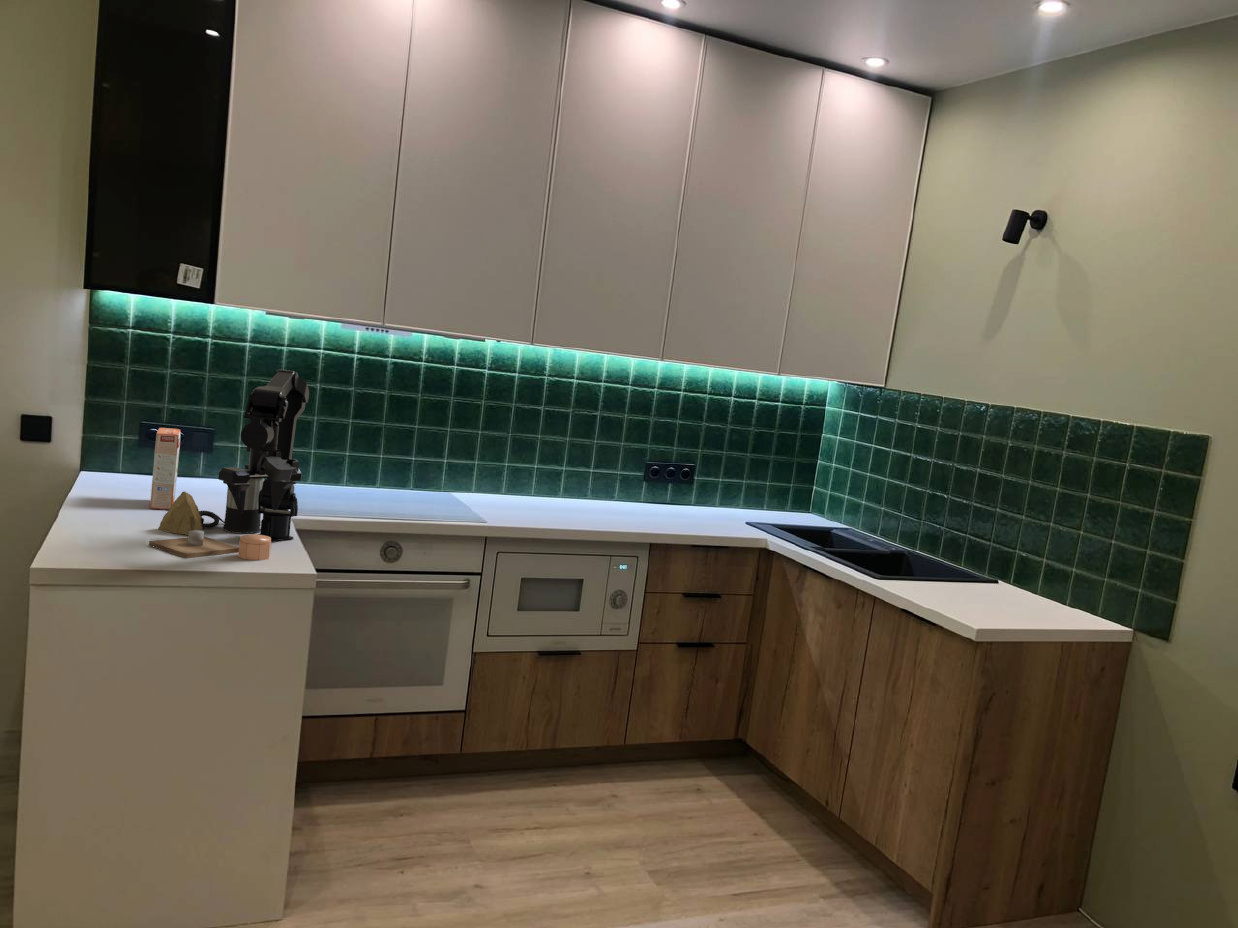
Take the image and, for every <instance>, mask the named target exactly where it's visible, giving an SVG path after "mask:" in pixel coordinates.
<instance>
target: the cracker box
mask: <svg viewBox="0 0 1238 928" xmlns="http://www.w3.org/2000/svg"><path fill="white" fill-rule="evenodd" d="M180 447H181V429H179V428H169V427H168V428H167V427H159V428H158V430H157V432H156V436H155V446H154V455H153V469H152V479H151V480H152V481H151V482H152V483H151V489H150V491H151V493H150V501H149V504H150V505H149V509H152V510H167V511H169V509H170V507H171V506H172V505H173V503H174V501H175V500H176V499H175V496H176V489H177V481H178V469H179V458H180V450H181V449H180Z"/></svg>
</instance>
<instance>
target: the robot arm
mask: <svg viewBox="0 0 1238 928" xmlns="http://www.w3.org/2000/svg"><path fill="white" fill-rule="evenodd" d="M309 399H310V390H309V385H308V383H307V382H306V381H305V380H304V379H302V378H301V377H300V376H299V374H298V372H297V371H295V370H289V369H288V370H287V369H275V372H274V376H273V377H272V378H271V379H270V381H269V382H268V383H267V384H266V385H264V386H257V387H255V388H254V389H253V390H252V392H250V393H249V397H248V401H247V404H246V407H245V411H244V414H243V415H244V416H243V418H244V419H247V420H250V423H248V424H246V425H245V426H244V427H243V428H242V430H241V432H240V439H241V442H242V443H243V445H244V446H245V447H246V449H245V451H246V452H249V457H248V458H249V460H248V464H245V465H244V468H240V467H237V466H235V467H233V466H232V467H231V466H229V467H221V469H220V470H219V472H218V478H217V479H218V480H219V481H222V484H225V485H227V489H228V488H229V490H230V492H231V494H232V496H233V498H234V501H235V503H236V506H237V509H238V511H239V512H240V513H243V511H244V506H245V495H246V490H247V489H248V487H249V486H250V485H249V484H246V483H247V482H248V481H249V480H250V479H257V478H264V481H263V486H262V490H260V492H259V497H258V514H261V515H262V519H260V520H261V523H260V529H261V530H260V532H259V533H256V535H265V536H269V537H271V542H276V541H286V540H287V541H288V540H294V536H291V535H290V533H291V522H292V518H294V517H297V516H298V511H299V504H298V498H297V495H296V492H295V485H296V484H297V482H300V481H302V471H301V470H300V462H299V460H298V459H296V458H293V451H294V444H295V443H294V442H295V436H296V435H295V434H296V430H297V429H296V428H297V419H298V418H300V416H301V415H302V414H303V413H304V411H305V408H306V404H307V403H309ZM255 474H256V475H255ZM257 474H258V475H257Z"/></svg>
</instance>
